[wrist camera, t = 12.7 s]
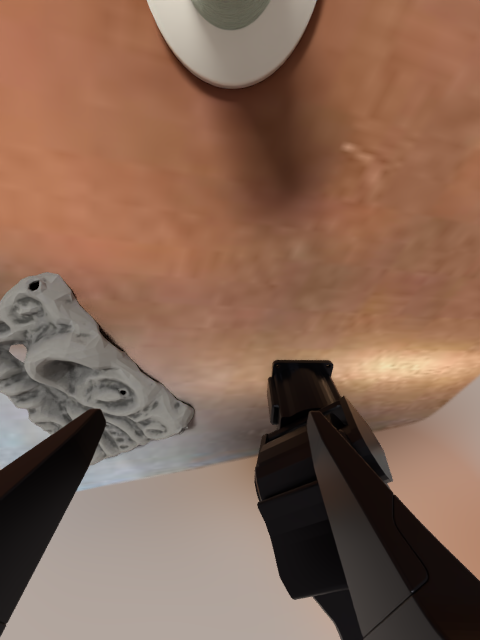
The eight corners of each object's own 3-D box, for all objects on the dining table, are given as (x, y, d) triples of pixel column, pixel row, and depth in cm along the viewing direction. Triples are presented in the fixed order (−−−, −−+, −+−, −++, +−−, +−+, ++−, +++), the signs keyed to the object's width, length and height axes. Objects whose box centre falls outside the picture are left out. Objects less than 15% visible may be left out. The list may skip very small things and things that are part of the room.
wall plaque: (202, 413, 29) (196, 441, 25) (98, 451, 33) (81, 479, 30) (63, 251, 20) (23, 260, 16) (-55, 334, 24) (-106, 355, 21)
